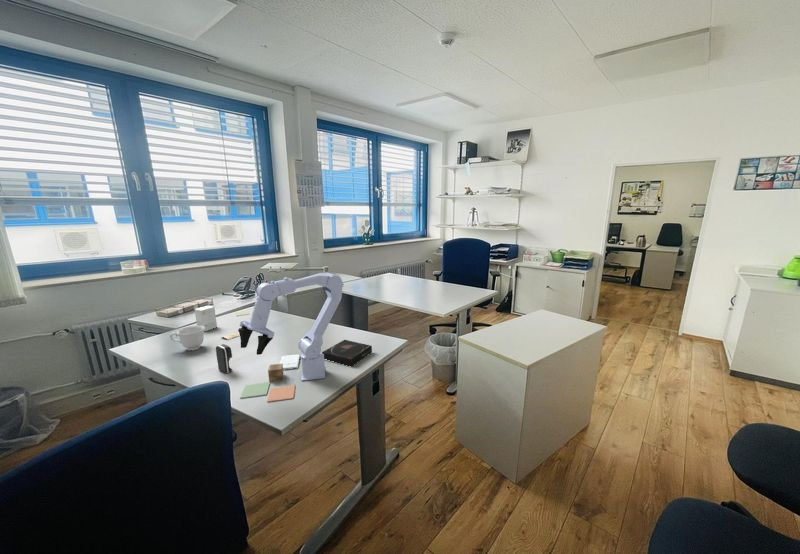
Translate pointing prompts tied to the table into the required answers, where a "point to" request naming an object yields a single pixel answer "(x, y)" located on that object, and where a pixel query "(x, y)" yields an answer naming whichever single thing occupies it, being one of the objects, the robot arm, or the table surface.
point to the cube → (275, 372)
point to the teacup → (190, 337)
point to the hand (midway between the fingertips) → (251, 350)
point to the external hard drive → (290, 361)
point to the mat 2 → (281, 393)
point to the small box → (206, 317)
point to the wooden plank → (232, 335)
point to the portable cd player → (347, 352)
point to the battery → (223, 357)
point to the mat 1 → (255, 390)
